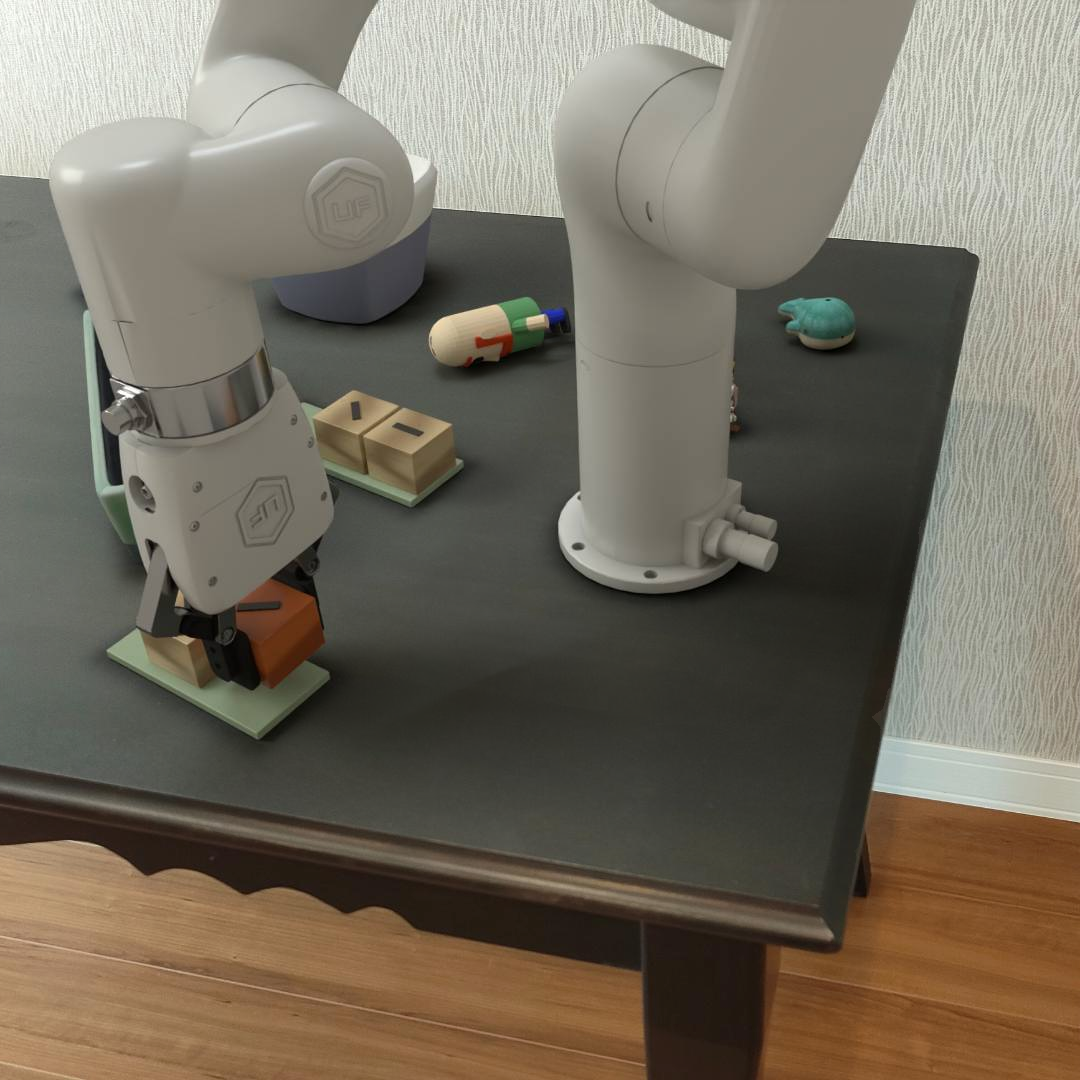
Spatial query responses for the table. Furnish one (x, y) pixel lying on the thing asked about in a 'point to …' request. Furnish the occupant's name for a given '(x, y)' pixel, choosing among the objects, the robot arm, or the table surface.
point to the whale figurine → (820, 321)
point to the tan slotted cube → (180, 655)
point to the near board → (227, 689)
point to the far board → (372, 483)
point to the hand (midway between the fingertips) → (270, 649)
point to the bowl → (370, 268)
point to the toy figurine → (494, 331)
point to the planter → (106, 442)
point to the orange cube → (279, 629)
